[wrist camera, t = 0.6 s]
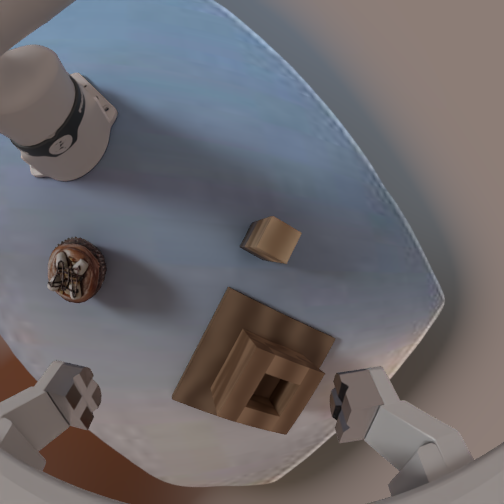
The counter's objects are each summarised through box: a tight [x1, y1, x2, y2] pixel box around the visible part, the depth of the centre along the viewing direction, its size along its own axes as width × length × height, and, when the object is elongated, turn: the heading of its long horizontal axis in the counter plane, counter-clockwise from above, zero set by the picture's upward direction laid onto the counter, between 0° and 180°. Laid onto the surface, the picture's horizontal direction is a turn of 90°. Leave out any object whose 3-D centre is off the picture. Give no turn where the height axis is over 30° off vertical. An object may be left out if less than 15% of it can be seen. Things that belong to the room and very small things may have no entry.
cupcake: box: [47, 237, 106, 303], centre depth 35 cm, size 10×10×10 cm
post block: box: [172, 287, 335, 435], centre depth 42 cm, size 22×22×10 cm
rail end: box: [240, 216, 302, 264], centre depth 41 cm, size 4×4×11 cm
